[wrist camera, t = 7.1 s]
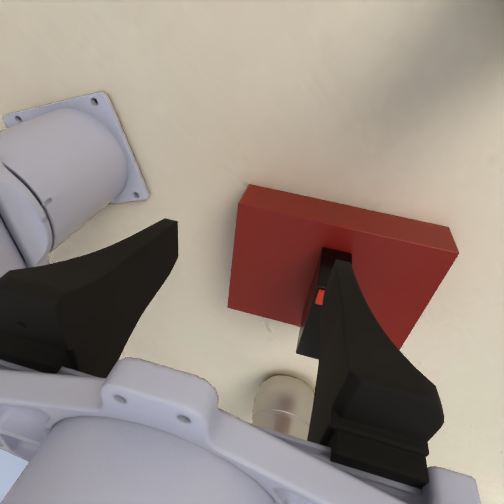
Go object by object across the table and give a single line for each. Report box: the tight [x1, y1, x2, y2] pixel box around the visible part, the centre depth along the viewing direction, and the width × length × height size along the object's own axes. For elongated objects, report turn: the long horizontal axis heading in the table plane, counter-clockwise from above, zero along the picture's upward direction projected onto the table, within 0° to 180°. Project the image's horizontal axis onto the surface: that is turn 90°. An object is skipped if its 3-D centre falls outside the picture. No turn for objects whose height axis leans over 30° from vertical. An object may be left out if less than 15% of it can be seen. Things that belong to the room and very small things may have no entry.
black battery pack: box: [296, 247, 352, 359], centre depth 23 cm, size 6×2×4 cm, turn 173°
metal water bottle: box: [252, 375, 314, 441], centre depth 31 cm, size 6×7×20 cm
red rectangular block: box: [228, 184, 459, 350], centre depth 26 cm, size 14×10×3 cm
